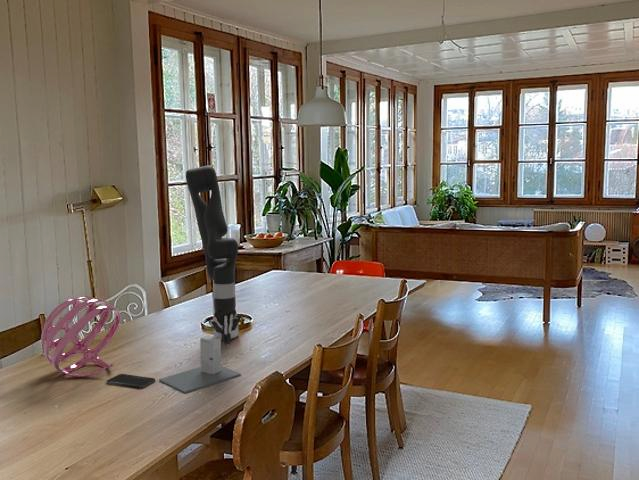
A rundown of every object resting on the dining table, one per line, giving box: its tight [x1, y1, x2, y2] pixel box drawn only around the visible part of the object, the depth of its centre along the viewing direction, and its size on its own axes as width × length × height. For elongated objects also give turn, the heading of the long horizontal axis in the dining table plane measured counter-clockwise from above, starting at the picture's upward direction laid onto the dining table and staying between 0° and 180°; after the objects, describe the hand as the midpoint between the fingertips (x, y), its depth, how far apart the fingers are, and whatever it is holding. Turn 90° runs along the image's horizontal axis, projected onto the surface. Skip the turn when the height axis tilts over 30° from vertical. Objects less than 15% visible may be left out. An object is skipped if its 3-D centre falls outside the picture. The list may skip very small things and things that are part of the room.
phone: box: [106, 373, 156, 390], centre depth 203 cm, size 8×1×15 cm
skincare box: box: [199, 334, 222, 374], centre depth 210 cm, size 6×4×12 cm
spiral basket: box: [40, 295, 122, 378], centre depth 213 cm, size 28×28×27 cm
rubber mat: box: [158, 365, 242, 394], centre depth 206 cm, size 22×16×1 cm
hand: (226, 343), depth 213 cm, fingers closed
